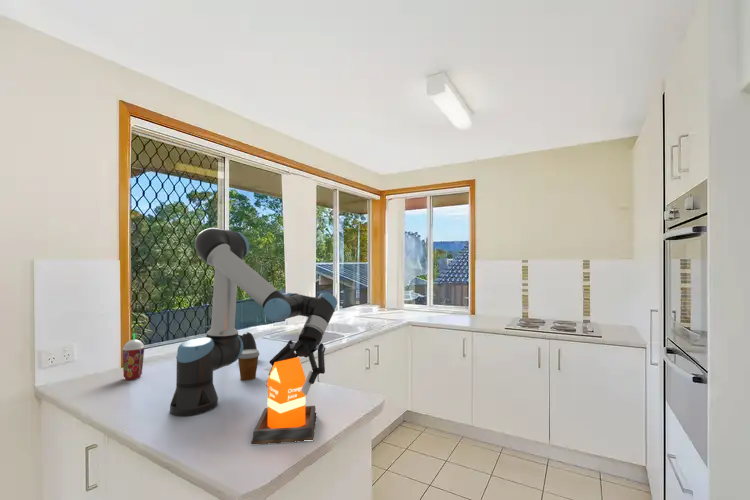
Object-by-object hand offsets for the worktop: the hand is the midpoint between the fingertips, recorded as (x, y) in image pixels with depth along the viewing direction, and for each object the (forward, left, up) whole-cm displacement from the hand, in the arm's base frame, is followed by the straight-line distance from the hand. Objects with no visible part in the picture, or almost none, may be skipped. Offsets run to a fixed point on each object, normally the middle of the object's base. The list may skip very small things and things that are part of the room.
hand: (285, 390), depth 106 cm
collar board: (0, +1, -12) cm, 12 cm away
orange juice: (0, +1, -11) cm, 11 cm away
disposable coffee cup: (-24, +53, -12) cm, 59 cm away
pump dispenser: (-32, +83, -12) cm, 90 cm away
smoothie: (-76, +60, -12) cm, 97 cm away
